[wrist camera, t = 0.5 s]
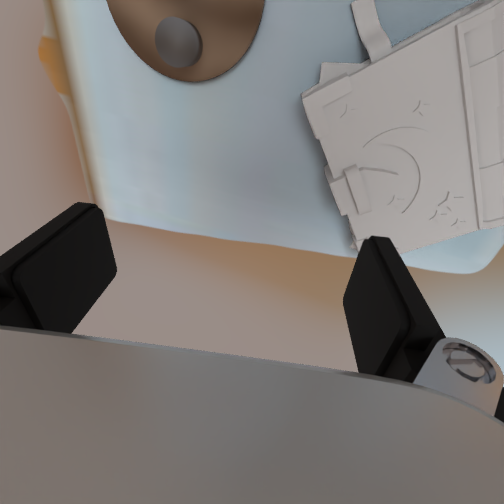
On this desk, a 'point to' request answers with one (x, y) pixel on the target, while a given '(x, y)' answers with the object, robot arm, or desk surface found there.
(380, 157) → the book
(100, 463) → the robot arm
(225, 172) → the desk surface
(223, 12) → the carrier plate
